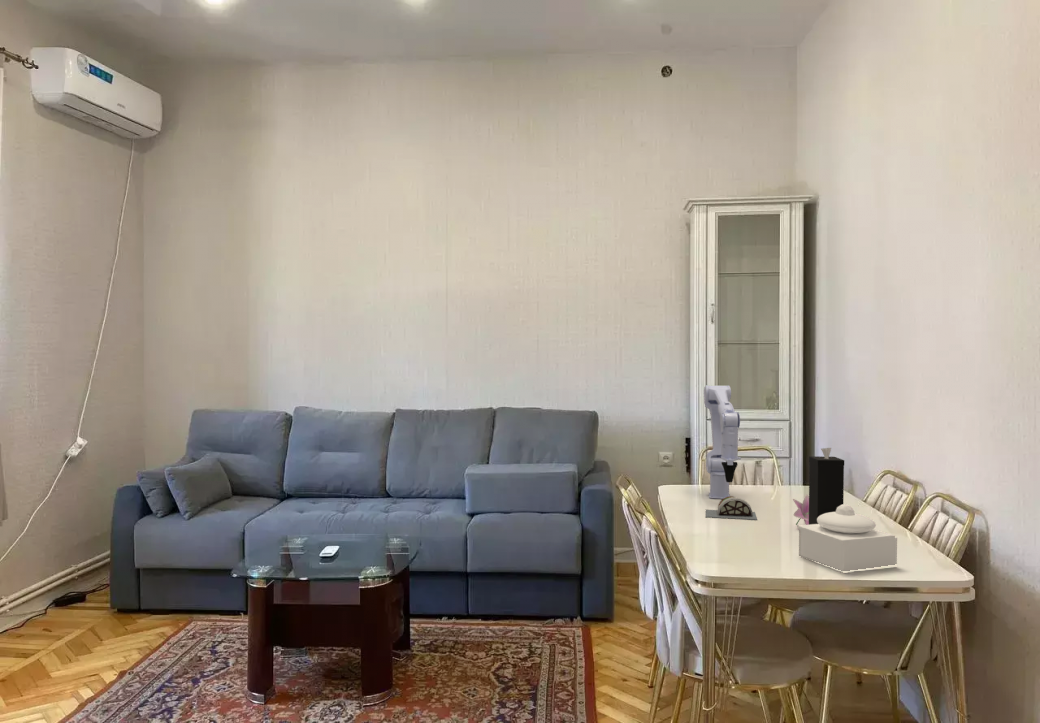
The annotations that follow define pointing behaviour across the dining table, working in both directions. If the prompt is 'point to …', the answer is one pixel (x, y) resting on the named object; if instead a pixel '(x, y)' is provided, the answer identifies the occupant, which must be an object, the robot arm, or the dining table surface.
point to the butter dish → (847, 541)
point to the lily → (802, 510)
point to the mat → (714, 515)
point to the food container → (734, 507)
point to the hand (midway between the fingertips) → (729, 481)
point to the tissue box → (825, 484)
